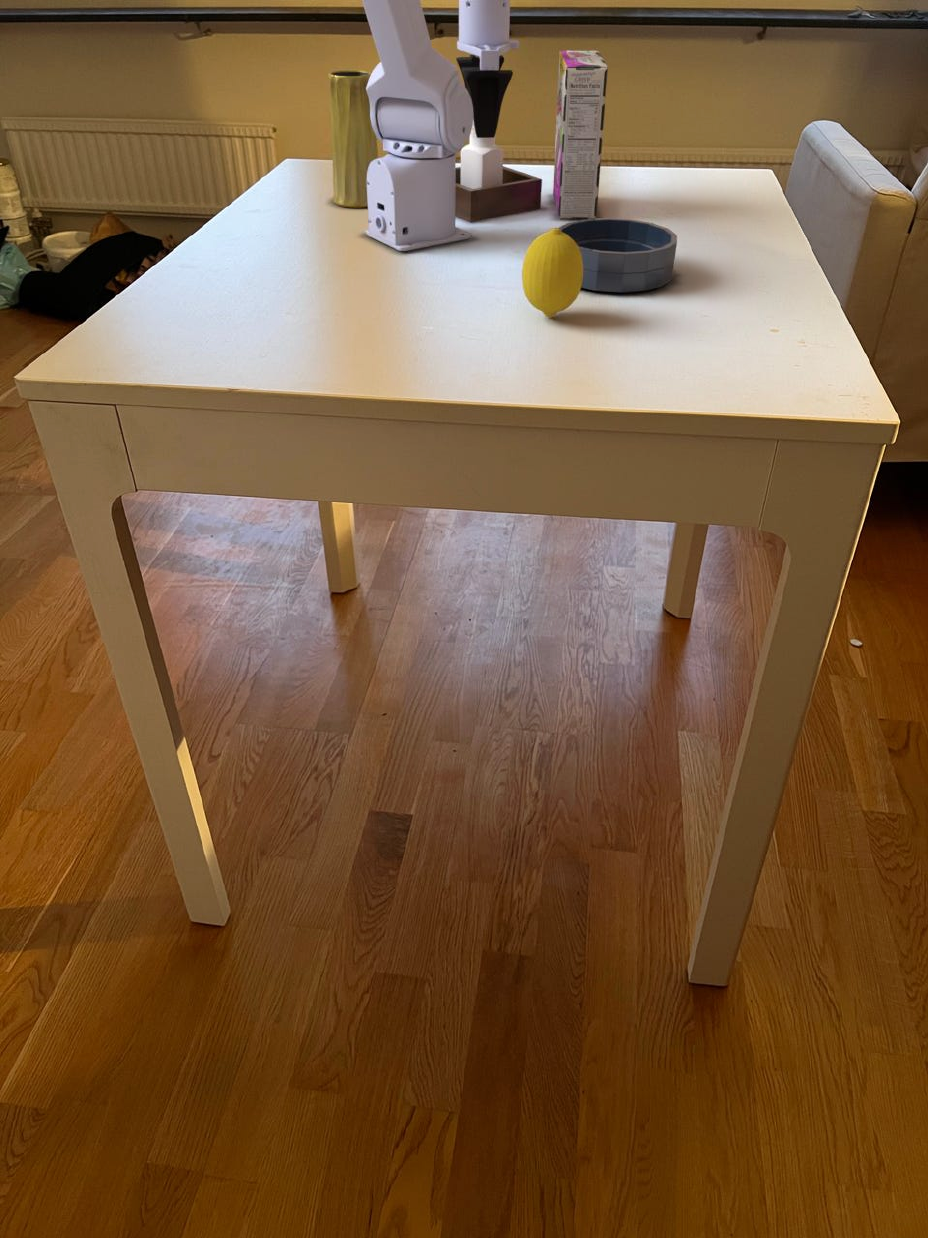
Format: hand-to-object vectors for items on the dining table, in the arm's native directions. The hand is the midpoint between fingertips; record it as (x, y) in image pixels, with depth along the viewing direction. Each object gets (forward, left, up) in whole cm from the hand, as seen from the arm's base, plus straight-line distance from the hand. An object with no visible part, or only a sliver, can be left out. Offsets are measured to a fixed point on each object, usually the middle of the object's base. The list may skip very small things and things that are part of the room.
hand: (482, 130), depth 115 cm
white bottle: (0, 0, -8) cm, 8 cm away
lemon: (-17, -35, -9) cm, 40 cm away
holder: (0, 0, -9) cm, 9 cm away
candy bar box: (+9, -7, -9) cm, 14 cm away
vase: (-12, +10, -9) cm, 18 cm away
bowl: (-4, -29, -9) cm, 31 cm away
